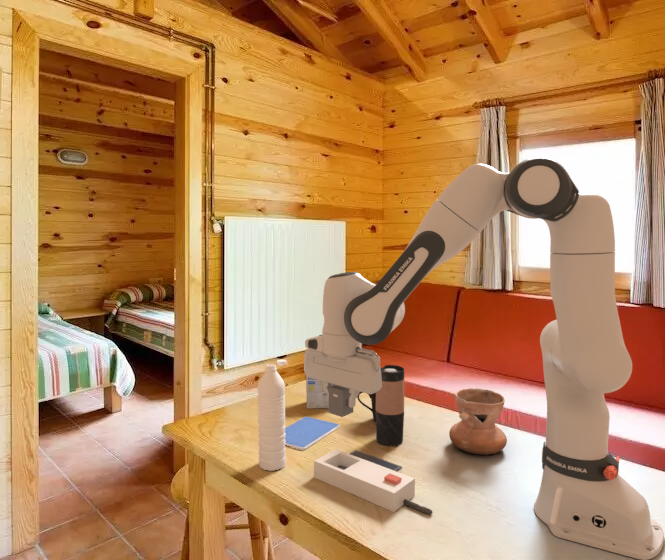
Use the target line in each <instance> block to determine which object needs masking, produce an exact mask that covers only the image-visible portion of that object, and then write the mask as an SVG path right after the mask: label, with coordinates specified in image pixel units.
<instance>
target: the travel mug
mask: <svg viewBox="0 0 665 560" xmlns="http://www.w3.org/2000/svg"><path fill="white" fill-rule="evenodd" d="M380 368H381V378H382V387H381V389H380V390H379V391H378V392H376V422H375V433H376V434H375V437H376V438H375V439H376V442H377V443H378V444H379V445H381V446H384V447H396V446H400V445H401V444H402V443H403V442H404V424H405V422H404V421H405V368H404V367H402V366H399V365H395V364H394V365H393V364H386V365H384V366H383V367H380Z"/></svg>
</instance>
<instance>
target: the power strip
mask: <svg viewBox="0 0 665 560" xmlns="http://www.w3.org/2000/svg"><path fill="white" fill-rule="evenodd" d="M313 469H314V470H313V478H314V479H317V480H319V481H322V482H324V483H326V484H328V485H330V486H332V487H336V488H337V489H340V490H342V491H345V492H347V493H350V494H352V495H354V496H356V497H358V498H360V499H363V500H366V501H368V502H371V503H372V504H375V505H377V506H379V507H382V508H384V509H386V510H388V511H391V512H393V513H394V512H396V511H397V510H399V509H400V508H402V506H404V505H406V506H408V507H411V508H413V509H415V510H417V511H420V512H422V513H425V514H427V515H430V516H432V515H433V510H432V509H431V508H428V507H426V506H423V505H421V504H418V503H416V502H413V501H411V499H413V498H414V497H416V495H415V494H416V491H415V489H416V487H415V486H416V478H415V477H413V476H409V475H407V474H404V473H401V472H400V471H397V472H396V471H394V470H391V469H388V468H386V467H383V466H380V465H378V464H375V463H372V462H369V461H367V460H364V459H361V458H359V457H356V456H353V455H351V454H349V453H347V452H345V451H342V450H339V449H338V448H336V449H334V450H332V451H330V452H329V453H326V454H324V455H322V456H320V457H318V458H317V459H315V460H314V461H313Z"/></svg>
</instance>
